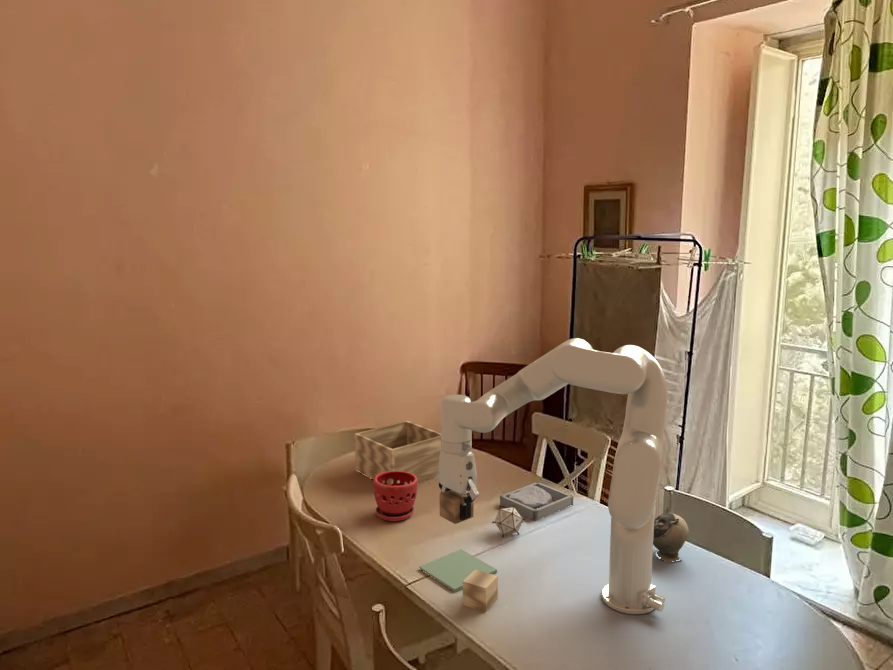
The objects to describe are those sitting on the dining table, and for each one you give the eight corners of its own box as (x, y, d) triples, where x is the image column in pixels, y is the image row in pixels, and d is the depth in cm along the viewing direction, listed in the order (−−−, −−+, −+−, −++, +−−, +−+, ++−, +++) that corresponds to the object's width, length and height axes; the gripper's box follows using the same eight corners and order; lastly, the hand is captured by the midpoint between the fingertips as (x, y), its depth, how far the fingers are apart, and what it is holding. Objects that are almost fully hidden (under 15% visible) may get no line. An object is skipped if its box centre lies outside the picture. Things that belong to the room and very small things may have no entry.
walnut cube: (473, 517, 167) (473, 494, 166) (455, 524, 163) (454, 501, 162) (457, 509, 171) (457, 487, 170) (439, 515, 168) (439, 493, 167)
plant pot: (392, 529, 193) (391, 489, 191) (366, 514, 203) (364, 477, 201) (426, 515, 202) (426, 477, 200) (400, 502, 212) (399, 466, 209)
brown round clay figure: (639, 551, 179) (666, 568, 170) (640, 509, 177) (667, 524, 168) (668, 543, 183) (696, 560, 173) (669, 502, 181) (698, 516, 172)
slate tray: (573, 505, 208) (573, 495, 207) (535, 521, 197) (535, 511, 196) (537, 490, 219) (537, 481, 218) (499, 504, 208) (499, 495, 208)
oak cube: (497, 599, 157) (497, 576, 156) (485, 612, 152) (485, 588, 151) (475, 592, 160) (475, 569, 159) (462, 605, 155) (462, 581, 154)
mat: (496, 572, 169) (496, 569, 169) (454, 592, 160) (454, 589, 160) (460, 551, 180) (460, 548, 179) (419, 569, 171) (419, 566, 171)
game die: (513, 548, 189) (523, 531, 182) (485, 536, 190) (494, 518, 183) (522, 522, 195) (531, 505, 188) (495, 510, 196) (503, 492, 189)
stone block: (554, 508, 210) (530, 493, 217) (556, 495, 208) (532, 480, 215) (528, 521, 202) (505, 505, 209) (531, 508, 201) (507, 492, 208)
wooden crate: (446, 473, 235) (446, 435, 232) (392, 490, 220) (391, 450, 218) (408, 456, 252) (407, 420, 250) (355, 471, 238) (354, 433, 235)
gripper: (491, 451, 160) (491, 521, 163) (445, 433, 173) (446, 499, 176) (468, 458, 155) (468, 530, 158) (422, 439, 168) (423, 507, 171)
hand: (456, 513), depth 167 cm, fingers closed on walnut cube, 6 cm apart
